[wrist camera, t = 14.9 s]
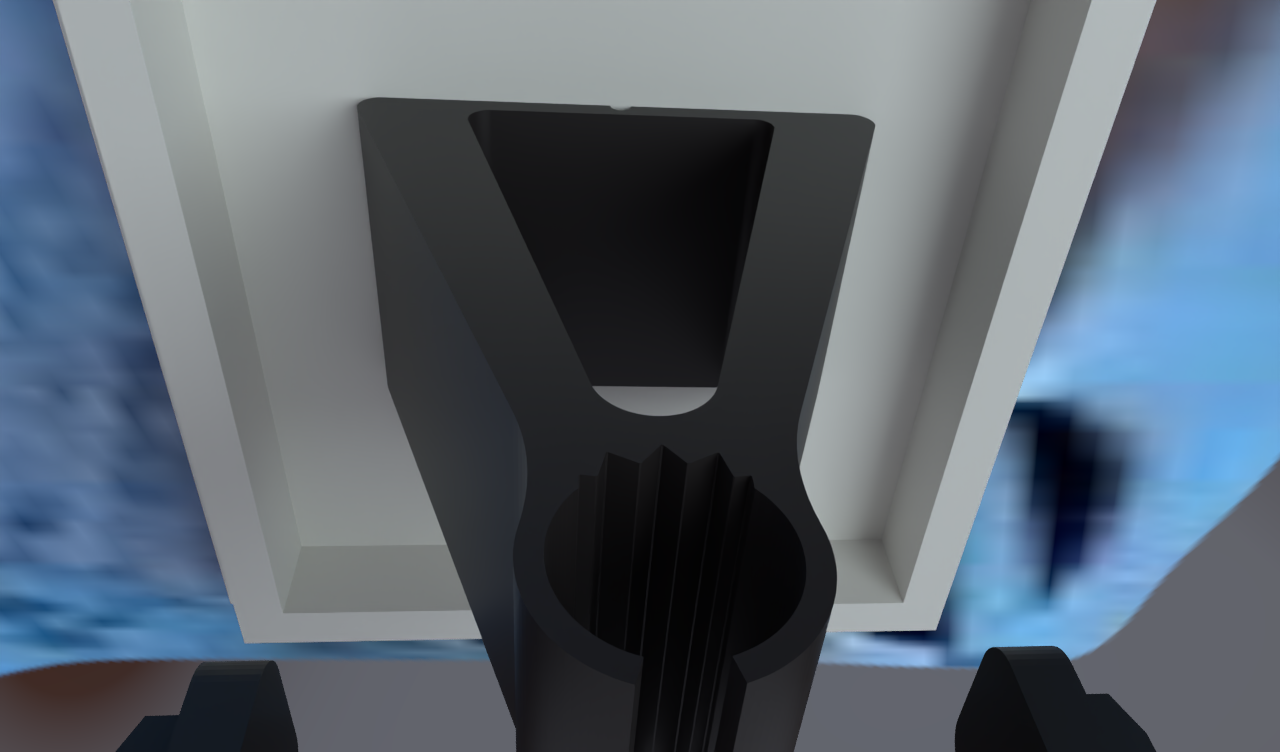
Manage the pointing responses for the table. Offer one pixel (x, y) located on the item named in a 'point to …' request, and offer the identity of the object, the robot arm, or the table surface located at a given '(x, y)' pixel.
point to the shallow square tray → (384, 463)
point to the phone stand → (602, 433)
